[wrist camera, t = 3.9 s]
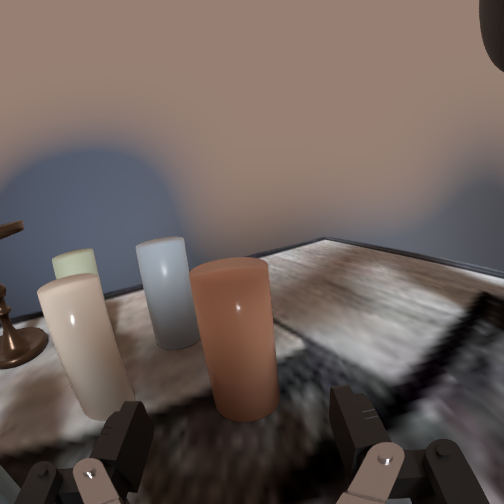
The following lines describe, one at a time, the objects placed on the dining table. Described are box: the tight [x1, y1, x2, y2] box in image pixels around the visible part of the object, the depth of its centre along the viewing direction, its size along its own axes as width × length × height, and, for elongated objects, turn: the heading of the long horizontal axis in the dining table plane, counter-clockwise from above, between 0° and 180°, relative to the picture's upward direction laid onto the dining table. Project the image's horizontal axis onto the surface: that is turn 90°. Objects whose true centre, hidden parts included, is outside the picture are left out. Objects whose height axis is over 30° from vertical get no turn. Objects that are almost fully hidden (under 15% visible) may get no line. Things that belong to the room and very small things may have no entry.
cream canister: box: [37, 273, 135, 421], centre depth 20 cm, size 5×5×10 cm
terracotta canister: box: [189, 257, 280, 422], centre depth 20 cm, size 5×5×10 cm
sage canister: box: [52, 249, 115, 337], centre depth 29 cm, size 5×5×10 cm
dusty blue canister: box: [136, 237, 200, 350], centre depth 30 cm, size 5×5×10 cm
